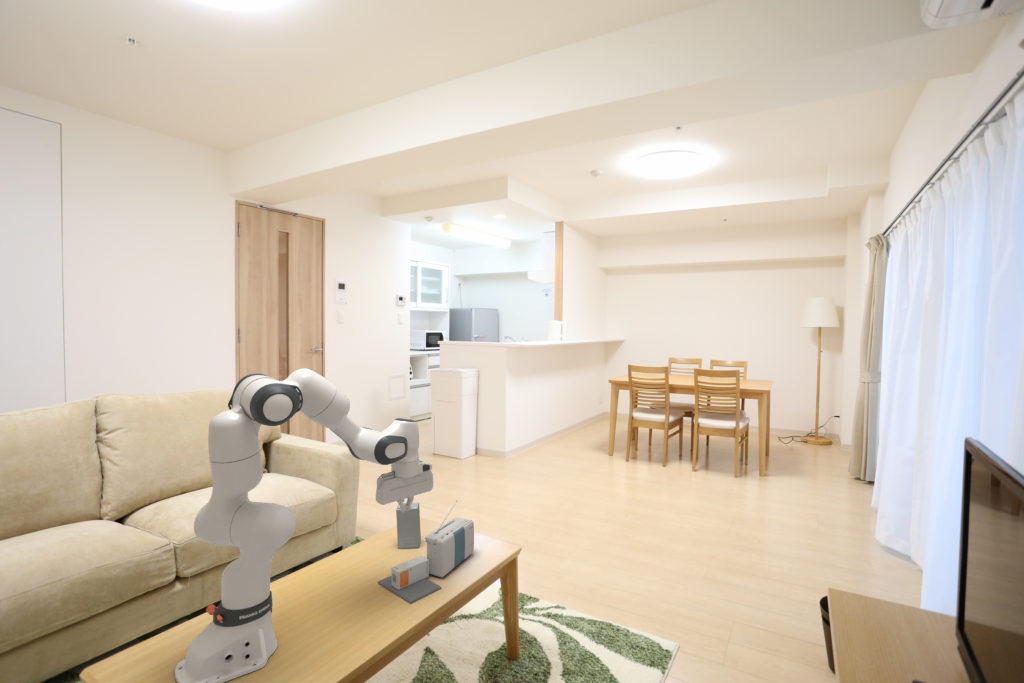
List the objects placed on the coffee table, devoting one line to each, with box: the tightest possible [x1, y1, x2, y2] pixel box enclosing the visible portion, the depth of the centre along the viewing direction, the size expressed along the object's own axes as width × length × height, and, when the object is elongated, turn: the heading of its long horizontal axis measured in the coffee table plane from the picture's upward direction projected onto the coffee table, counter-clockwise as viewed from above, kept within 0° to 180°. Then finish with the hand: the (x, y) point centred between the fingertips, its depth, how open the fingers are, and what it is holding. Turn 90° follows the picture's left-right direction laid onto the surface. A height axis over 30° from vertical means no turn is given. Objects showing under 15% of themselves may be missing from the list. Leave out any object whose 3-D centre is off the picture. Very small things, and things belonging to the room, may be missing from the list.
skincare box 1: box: [395, 502, 422, 550], centre depth 191 cm, size 8×7×16 cm
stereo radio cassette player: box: [424, 500, 475, 579], centre depth 175 cm, size 21×8×20 cm, turn 154°
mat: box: [377, 575, 442, 605], centre depth 161 cm, size 12×18×1 cm, turn 48°
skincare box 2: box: [391, 555, 430, 590], centre depth 163 cm, size 6×4×12 cm
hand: (405, 510), depth 159 cm, fingers closed
